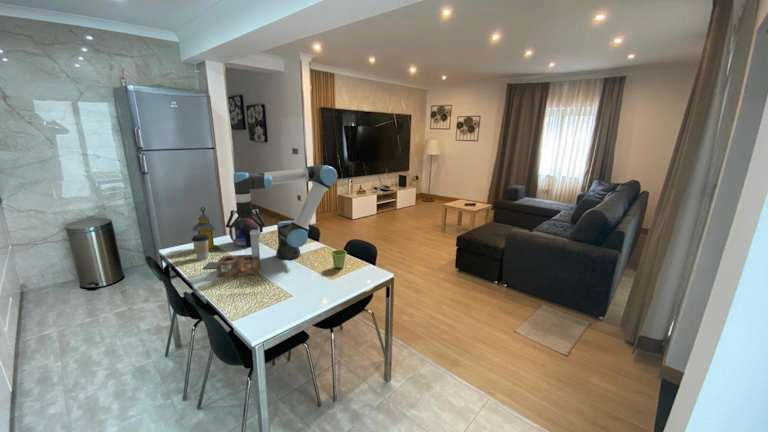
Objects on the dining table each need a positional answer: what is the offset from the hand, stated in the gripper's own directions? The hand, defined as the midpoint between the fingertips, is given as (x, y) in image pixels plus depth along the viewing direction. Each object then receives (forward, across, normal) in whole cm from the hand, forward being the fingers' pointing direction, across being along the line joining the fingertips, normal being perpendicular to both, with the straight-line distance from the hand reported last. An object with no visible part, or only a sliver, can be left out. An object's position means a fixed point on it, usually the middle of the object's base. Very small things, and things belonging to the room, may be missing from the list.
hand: (247, 238), depth 170 cm
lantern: (+20, +37, -42) cm, 59 cm away
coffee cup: (+19, +34, -25) cm, 46 cm away
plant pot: (+20, -50, -1) cm, 54 cm away
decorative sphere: (+20, +14, -49) cm, 54 cm away
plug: (+12, -4, 0) cm, 12 cm away
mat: (+19, +23, -12) cm, 32 cm away
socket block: (+19, +6, 0) cm, 20 cm away
